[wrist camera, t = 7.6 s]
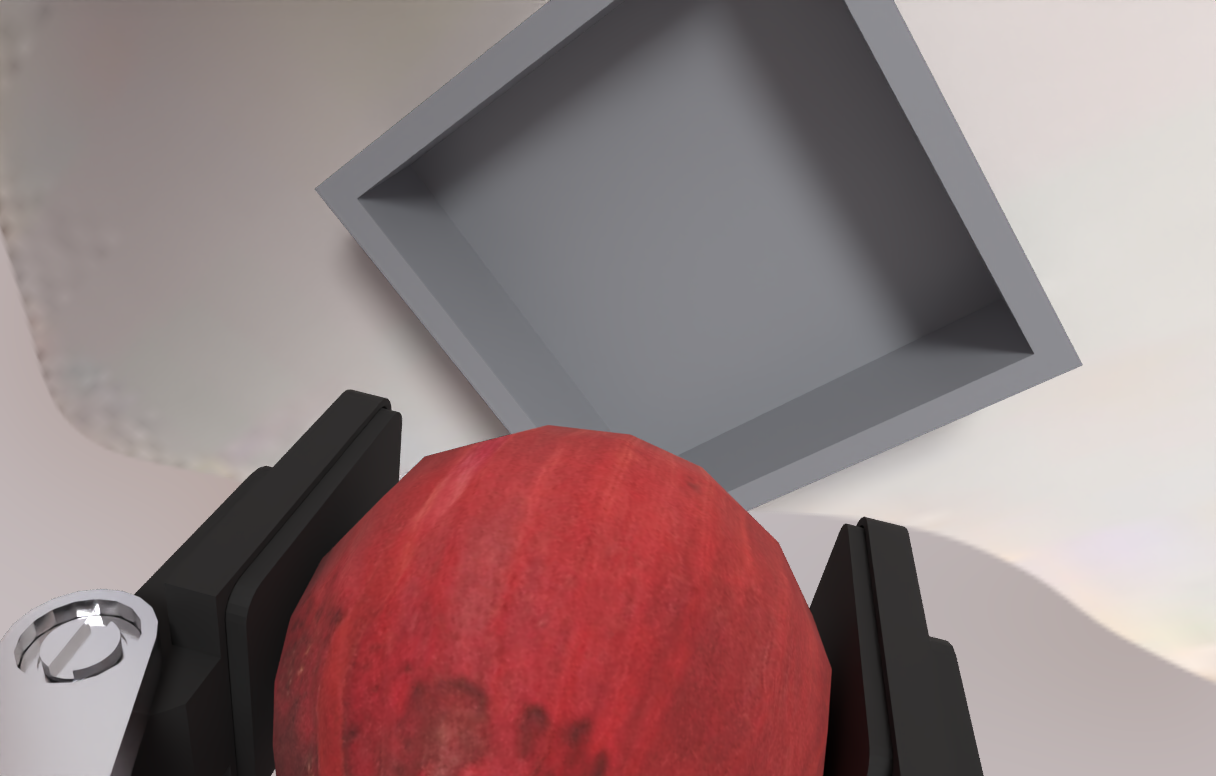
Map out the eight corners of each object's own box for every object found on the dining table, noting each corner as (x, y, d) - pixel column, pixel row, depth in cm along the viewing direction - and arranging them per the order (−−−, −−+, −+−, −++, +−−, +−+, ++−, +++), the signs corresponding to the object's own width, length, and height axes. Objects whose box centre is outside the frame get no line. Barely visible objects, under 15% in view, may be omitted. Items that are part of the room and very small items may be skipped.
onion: (362, 485, 13) (-96, 1080, 7) (592, 231, 11) (222, 793, 4) (636, 697, 15) (491, 1399, 8) (908, 514, 12) (1066, 1355, 5)
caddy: (386, 148, 26) (314, 189, 22) (791, -171, 20) (793, -195, 16) (639, 482, 30) (617, 567, 26) (1035, 293, 24) (1082, 365, 20)
